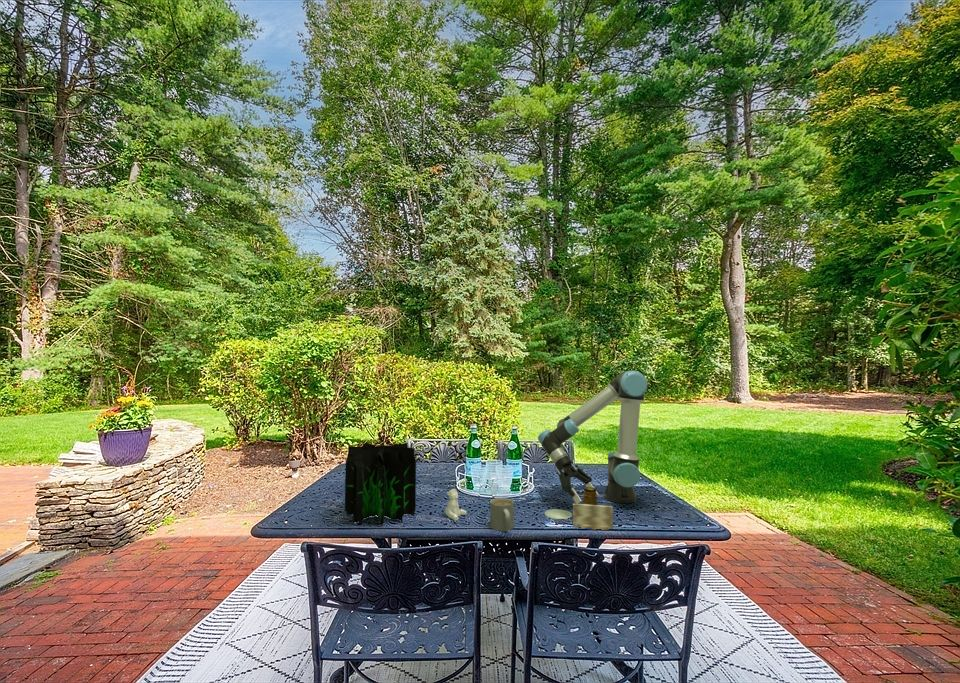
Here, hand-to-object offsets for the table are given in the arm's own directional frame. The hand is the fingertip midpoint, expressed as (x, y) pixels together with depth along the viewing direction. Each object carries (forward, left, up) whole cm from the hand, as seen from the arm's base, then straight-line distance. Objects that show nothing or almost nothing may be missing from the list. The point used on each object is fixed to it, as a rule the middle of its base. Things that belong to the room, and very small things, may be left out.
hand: (588, 499), depth 195 cm
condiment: (-1, +1, -7) cm, 8 cm away
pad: (+9, -10, -7) cm, 15 cm away
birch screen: (+11, +9, -7) cm, 16 cm away
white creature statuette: (+45, -40, -7) cm, 61 cm away
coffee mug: (+39, -16, -7) cm, 43 cm away
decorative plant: (+68, -64, -7) cm, 94 cm away
